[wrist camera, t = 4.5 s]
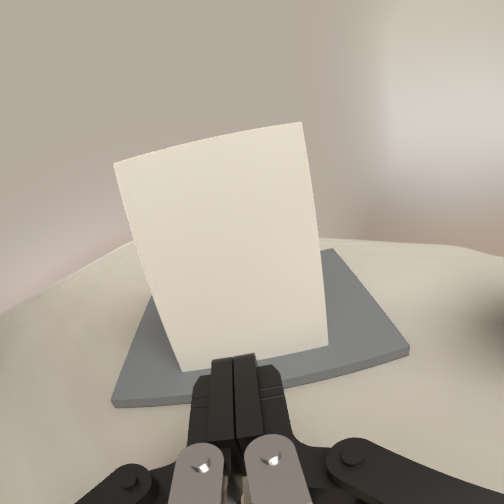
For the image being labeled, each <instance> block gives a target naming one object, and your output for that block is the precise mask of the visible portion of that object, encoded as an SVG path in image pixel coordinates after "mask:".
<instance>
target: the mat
mask: <svg viewBox="0 0 504 504" xmlns="http://www.w3.org/2000/svg"><path fill="white" fill-rule="evenodd" d="M320 254H321V263H322V273H323V283H324V293H325V305H326V317H327V330H328V345H327V346H323V347H319V348H314V349H310V350H306V351H301V352H297V353H292V354H287V355H282V356H277V357H272V358H267V359H262V360H257V364H258V367H259V366H264V365H270V364H272V365H273V366H274V367H275V368H276V369H277V370H278V371H279V372H280V375H281V380H282V385H283V389H284V388H289V387H294V386H299V385H303V384H308V383H312V382H316V381H321V380H325V379H329V378H333V377H337V376H340V375H344V374H348V373H352V372H355V371H359V370H362V369H366V368H369V367H373V366H376V365H379V364H382V363H386V362H389V361H392V360H395V359H398V358H401V357H404V356H407V355H409V349H410V345H409V344H408V343H407V341H406V340H405V339H404V337H403V336H402V335H401V333H400V332H399V331H398V329H397V328H396V327H395V325H394V324H393V323H392V322H391V320H390V319H389V318H388V316H387V315H386V314H385V312H384V311H383V310H382V309H381V307H380V306H379V305H378V303H377V302H376V301H375V300H374V298H373V297H372V296H371V295H370V293H369V292H368V291H367V290H366V288H365V287H364V286H363V285H362V283H361V282H360V281H359V280H358V278H357V277H356V276H355V275H354V273H353V272H352V271H351V270H350V268H349V267H348V266H347V265H346V264H345V262H344V261H343V260H342V259H341V258H340V256H339V255H338V254H337V253H336V252H335V250H334V249H333V248H332V249H327V250H322V251H320ZM210 374H211V368H208V369H201V370H194V371H186V372H182V370H181V368H180V366H179V363H178V361H177V358H176V356H175V354H174V351H173V349H172V346H171V344H170V341H169V339H168V336H167V334H166V331H165V329H164V326H163V323H162V321H161V318H160V315H159V313H158V310H157V307H156V305H155V302H154V299H153V296H151V298H150V301H149V303H148V305H147V308H146V310H145V312H144V315H143V317H142V320H141V322H140V325H139V327H138V329H137V332H136V334H135V337H134V339H133V342H132V344H131V347H130V350H129V352H128V355H127V357H126V360H125V362H124V365H123V368H122V370H121V373H120V376H119V378H118V381H117V384H116V387H115V389H114V392H113V395H112V398H111V402H112V403H113V405H114V406H115V408H128V407H148V406H163V405H175V404H185V403H191V401H192V391H193V386H194V384H195V383H196V381H197V380H198V378H199V376H203V375H210Z"/></svg>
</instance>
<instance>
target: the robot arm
mask: <svg viewBox="0 0 504 504" xmlns="http://www.w3.org/2000/svg"><path fill="white" fill-rule="evenodd" d="M244 476H247V478H248V484H249V490H250V495H251V501H252V504H504V494H502V493H499V492H495V491H492V490H489V489H486V488H483V487H480V486H477V485H474V484H471V483H468V482H465V481H462V480H460V479H457V478H454V477H452V476H449V475H446V474H444V473H441V472H439V471H436V470H434V469H431V468H429V467H426V466H424V465H421V464H419V463H417V462H414V461H412V460H410V459H407V458H405V457H403V456H401V455H398V454H396V453H394V452H392V451H390V450H387V449H385V448H383V447H381V446H379V445H377V444H375V443H373V442H371V441H369V440H366V439H363V438H348V439H344V440H342V441H340V442H338V443H336V444H335V445H334V446H333V447H332V448H325V447H312V446H308V445H305V444H303V443H301V442H300V441H298V440H297V439H296V438H295V436H294V435H293V433H292V430H291V425H290V420H289V415H288V410H287V405H286V400H285V395H284V390H283V385H282V380H281V375H280V372H279V371H278V370H277V369H276V368H275V367H274V366H273V365H272V364H270V365H264V366H259V367H258V364H257V360H256V356H255V353H249V354H244V355H238V356H234V358H233V357H226V358H220V359H214V360H212V362H211V374H210V375H203V376H199V378H198V380H197V381H196V383H195V384H194V386H193V391H192V401H191V410H190V420H189V430H188V441H187V447H186V448H185V449H184V450H183V451H181V453H180V454H179V455H178V457H177V460H176V461H175V462H174V463H172V464H170V465H167V466H164V467H161V468H157V469H154V470H150V471H148V470H147V469H146V468H145V467H143V466H141V465H139V464H126V465H123V466H121V467H119V468H117V469H116V470H115V471H114V472H112V473H111V474H110V475H109V476H108V477H107V478H105V479H104V480H103V481H102V482H101V483H99V484H98V485H97V486H96V487H95V488H93V489H92V490H91V491H90V492H88V493H87V494H86V495H85V496H83V497H82V498H81V499H80V500H78V501H77V502H76V503H75V504H244V492H243V482H242V477H244Z"/></svg>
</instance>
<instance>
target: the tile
mask: <svg viewBox="0 0 504 504" xmlns="http://www.w3.org/2000/svg"><path fill="white" fill-rule="evenodd" d="M113 166H114V170H115V174H116V178H117V182H118V185H119V189H120V193H121V197H122V200H123V204H124V208H125V212H126V215H127V219H128V222H129V225H130V229H131V232H132V236H133V239H134V242H135V246H136V249H137V252H138V255H139V258H140V261H141V264H142V267H143V270H144V273H145V276H146V279H147V282H148V285H149V288H150V291H151V294H152V296H153V299H154V302H155V305H156V307H157V310H158V313H159V315H160V318H161V321H162V323H163V326H164V329H165V331H166V334H167V336H168V339H169V341H170V344H171V346H172V349H173V351H174V354H175V356H176V358H177V361H178V363H179V366H180V368H181V370H182V372H186V371H194V370H201V369H208V368H211V362H212V360H214V359H220V358H226V357H233V358H234V356H238V355H244V354H249V353H255V356H256V360H262V359H267V358H272V357H277V356H282V355H287V354H292V353H297V352H301V351H306V350H310V349H314V348H319V347H323V346H327V345H328V330H327V317H326V305H325V293H324V283H323V273H322V263H321V254H320V245H319V236H318V228H317V221H316V212H315V205H314V197H313V190H312V183H311V177H310V170H309V164H308V157H307V151H306V145H305V139H304V133H303V127H302V122H296V123H289V124H282V125H277V126H270V127H264V128H258V129H252V130H247V131H242V132H236V133H232V134H226V135H221V136H216V137H212V138H207V139H203V140H199V141H194V142H190V143H186V144H181V145H177V146H173V147H169V148H166V149H162V150H158V151H154V152H150V153H147V154H143V155H140V156H136V157H133V158H129V159H126V160H123V161H119V162H116V163H113Z"/></svg>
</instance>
